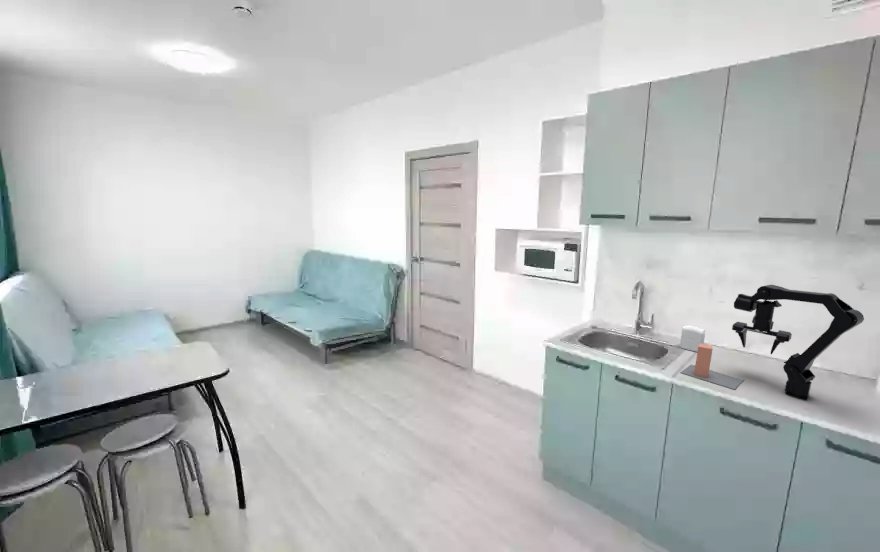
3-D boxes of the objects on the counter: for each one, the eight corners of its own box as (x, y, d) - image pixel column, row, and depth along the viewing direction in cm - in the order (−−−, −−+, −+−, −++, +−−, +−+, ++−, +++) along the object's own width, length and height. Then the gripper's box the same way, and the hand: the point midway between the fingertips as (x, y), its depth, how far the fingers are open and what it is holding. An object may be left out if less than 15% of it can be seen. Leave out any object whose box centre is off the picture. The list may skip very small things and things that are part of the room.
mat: (743, 380, 168) (743, 379, 168) (734, 390, 160) (734, 389, 160) (690, 365, 183) (691, 364, 183) (680, 373, 175) (680, 372, 175)
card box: (707, 374, 173) (712, 345, 171) (708, 377, 170) (712, 349, 167) (694, 371, 176) (698, 343, 173) (694, 374, 172) (698, 346, 170)
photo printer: (678, 347, 204) (681, 324, 202) (681, 345, 207) (684, 323, 205) (700, 353, 197) (704, 330, 194) (703, 351, 199) (707, 328, 197)
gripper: (797, 316, 162) (790, 352, 165) (741, 306, 176) (736, 340, 179) (792, 322, 155) (784, 359, 158) (734, 311, 169) (728, 345, 172)
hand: (757, 350), depth 167 cm, fingers open, 9 cm apart
